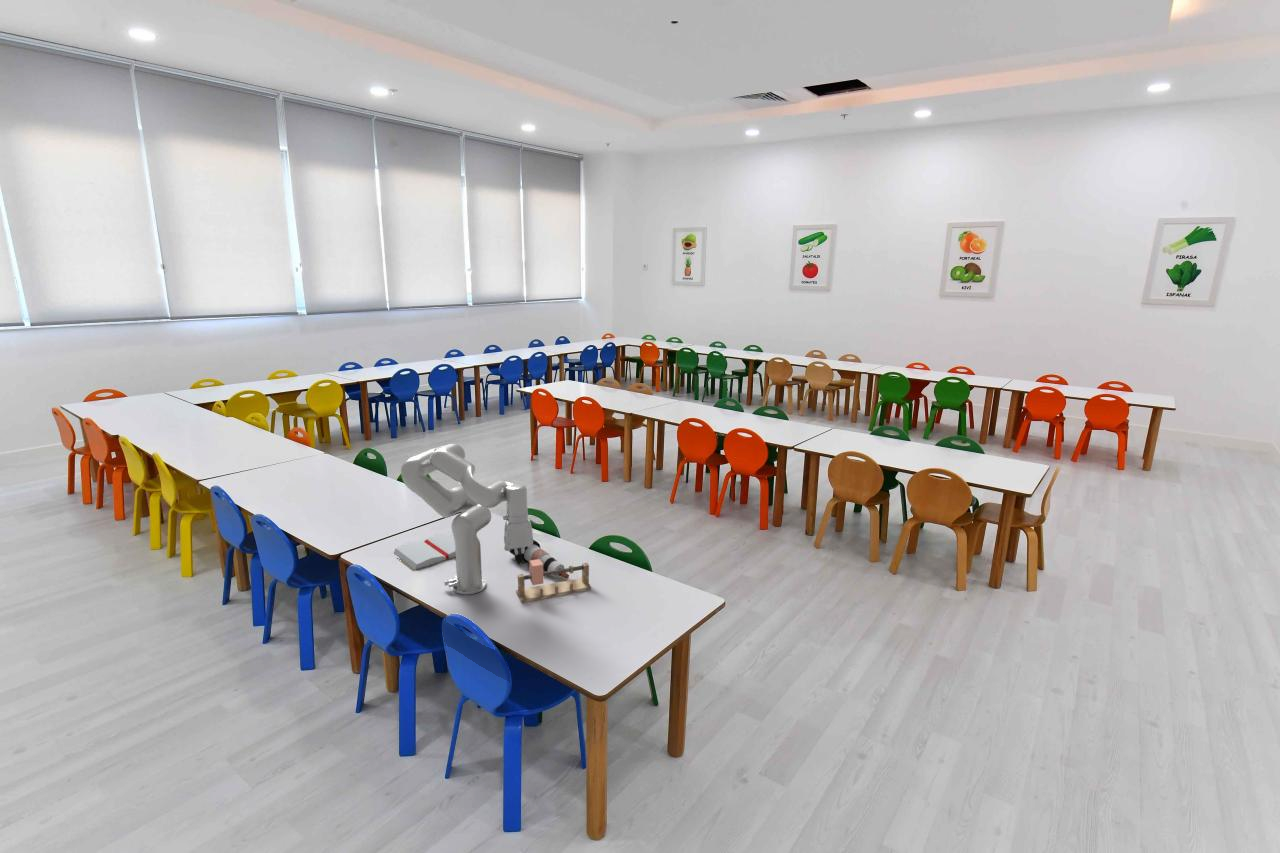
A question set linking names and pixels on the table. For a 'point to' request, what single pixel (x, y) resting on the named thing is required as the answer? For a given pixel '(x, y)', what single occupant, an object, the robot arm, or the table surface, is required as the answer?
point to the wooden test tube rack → (554, 585)
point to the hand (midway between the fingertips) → (519, 562)
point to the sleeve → (536, 571)
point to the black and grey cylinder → (542, 559)
